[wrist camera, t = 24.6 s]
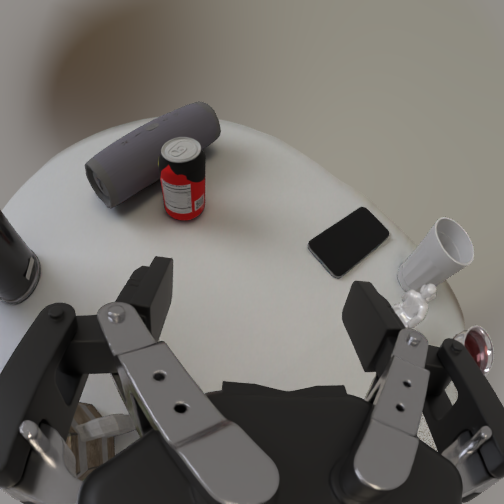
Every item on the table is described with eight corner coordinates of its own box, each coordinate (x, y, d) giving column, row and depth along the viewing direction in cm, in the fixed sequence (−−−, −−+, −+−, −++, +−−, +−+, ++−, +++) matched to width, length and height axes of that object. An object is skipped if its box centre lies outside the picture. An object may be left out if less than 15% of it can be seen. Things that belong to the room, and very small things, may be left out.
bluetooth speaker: (120, 224, 42) (104, 179, 33) (93, 195, 44) (76, 151, 36) (221, 154, 52) (225, 110, 44) (188, 134, 55) (188, 92, 46)
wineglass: (430, 400, 33) (488, 385, 23) (400, 383, 34) (457, 365, 24) (443, 362, 36) (497, 338, 26) (414, 344, 37) (467, 315, 27)
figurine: (359, 340, 37) (407, 308, 27) (387, 295, 41) (432, 255, 31) (382, 360, 36) (436, 335, 26) (408, 313, 40) (457, 279, 30)
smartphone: (305, 242, 43) (363, 204, 49) (304, 245, 44) (361, 207, 50) (338, 279, 41) (391, 233, 47) (336, 281, 41) (389, 236, 47)
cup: (430, 268, 45) (471, 230, 35) (429, 307, 41) (476, 273, 31) (395, 252, 46) (433, 208, 36) (391, 292, 42) (436, 252, 31)
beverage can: (213, 205, 46) (215, 146, 36) (187, 231, 43) (182, 171, 32) (183, 187, 47) (180, 129, 37) (157, 211, 44) (146, 152, 34)
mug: (63, 482, 21) (12, 497, 11) (34, 407, 26) (-22, 395, 16) (167, 458, 26) (146, 480, 16) (132, 378, 31) (96, 361, 21)
